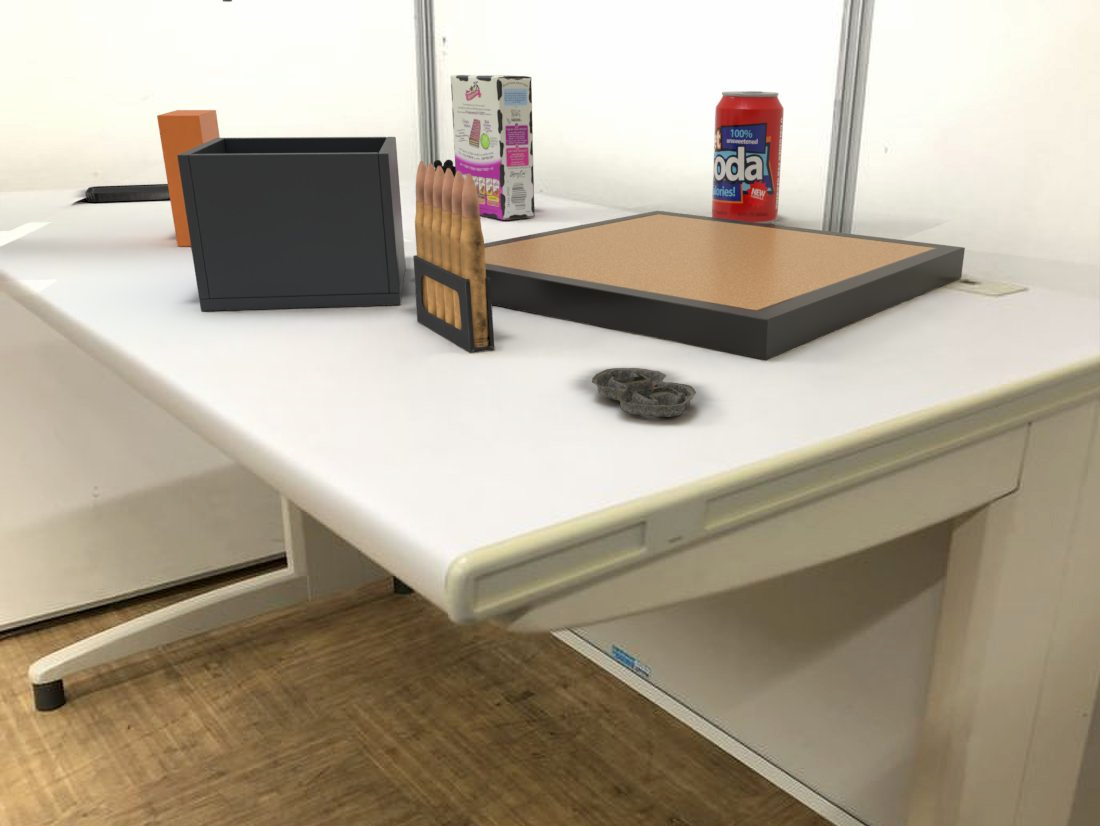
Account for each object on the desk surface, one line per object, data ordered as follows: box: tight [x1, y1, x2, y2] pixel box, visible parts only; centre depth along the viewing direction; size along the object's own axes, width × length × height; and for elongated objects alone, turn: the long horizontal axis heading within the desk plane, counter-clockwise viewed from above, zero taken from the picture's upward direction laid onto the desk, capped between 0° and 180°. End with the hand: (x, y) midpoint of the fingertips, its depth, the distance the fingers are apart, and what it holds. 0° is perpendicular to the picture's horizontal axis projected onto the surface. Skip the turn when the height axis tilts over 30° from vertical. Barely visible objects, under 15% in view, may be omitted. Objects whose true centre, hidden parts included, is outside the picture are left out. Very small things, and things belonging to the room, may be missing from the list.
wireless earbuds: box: [433, 159, 456, 177], centre depth 146 cm, size 7×2×5 cm, turn 120°
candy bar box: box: [449, 74, 536, 221], centre depth 130 cm, size 11×5×16 cm, turn 40°
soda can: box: [711, 90, 785, 224], centre depth 124 cm, size 8×8×15 cm
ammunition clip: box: [412, 160, 495, 354], centre depth 76 cm, size 11×2×12 cm, turn 31°
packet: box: [156, 109, 221, 247], centre depth 113 cm, size 4×9×13 cm, turn 10°
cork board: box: [484, 210, 966, 361], centre depth 95 cm, size 36×3×35 cm
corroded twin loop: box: [591, 367, 697, 418], centre depth 64 cm, size 5×8×1 cm, turn 30°
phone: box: [84, 183, 170, 203], centre depth 144 cm, size 8×1×15 cm
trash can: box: [177, 136, 406, 312], centre depth 90 cm, size 16×16×12 cm
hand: (184, 0), depth 110 cm, fingers open, 8 cm apart
